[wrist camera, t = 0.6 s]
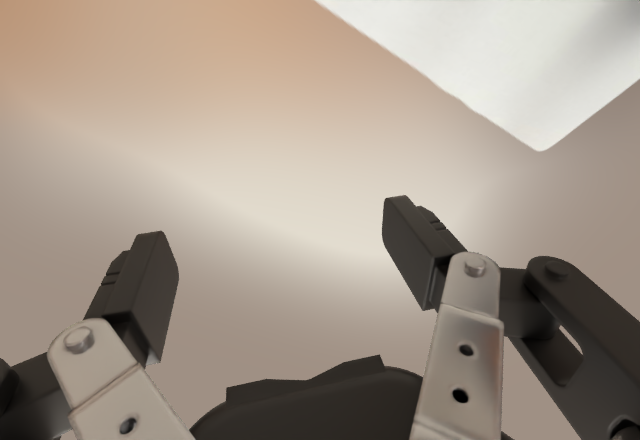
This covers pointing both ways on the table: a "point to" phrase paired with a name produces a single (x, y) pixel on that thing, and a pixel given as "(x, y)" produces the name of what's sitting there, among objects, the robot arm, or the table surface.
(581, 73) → the table surface
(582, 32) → the table surface
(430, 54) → the table surface
